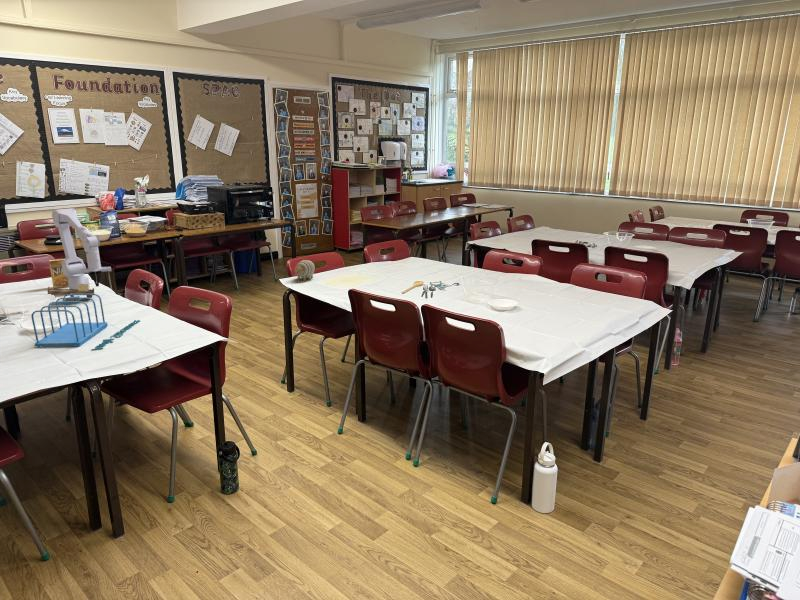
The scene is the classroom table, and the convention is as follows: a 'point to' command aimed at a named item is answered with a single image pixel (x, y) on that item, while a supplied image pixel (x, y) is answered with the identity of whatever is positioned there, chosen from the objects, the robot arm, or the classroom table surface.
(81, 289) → the brass weight
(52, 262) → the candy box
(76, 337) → the file sorter
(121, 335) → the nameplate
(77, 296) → the pivot stand
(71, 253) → the robot arm
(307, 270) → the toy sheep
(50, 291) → the beam
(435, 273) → the classroom table surface
